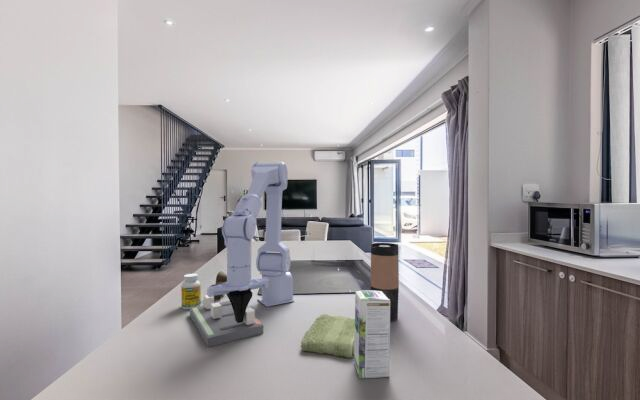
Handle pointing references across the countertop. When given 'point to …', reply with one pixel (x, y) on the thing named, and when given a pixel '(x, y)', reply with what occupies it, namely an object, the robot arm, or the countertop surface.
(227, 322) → the switch panel
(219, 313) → the handle middle
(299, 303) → the countertop surface
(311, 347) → the washcloth
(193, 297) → the supplement bottle
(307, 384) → the countertop surface
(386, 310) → the syrup box
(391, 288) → the travel mug
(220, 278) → the kendama
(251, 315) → the handle
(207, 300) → the handle right
